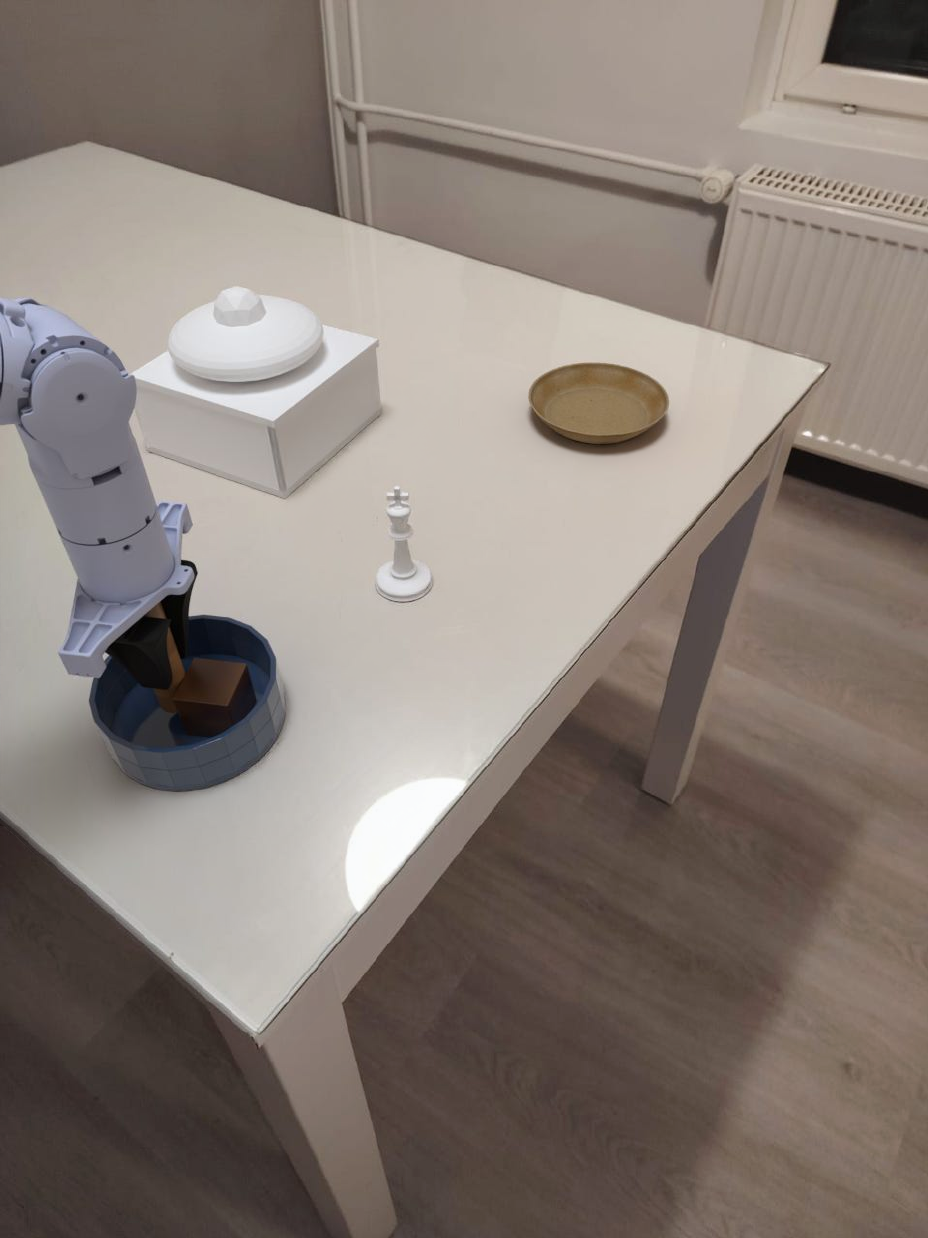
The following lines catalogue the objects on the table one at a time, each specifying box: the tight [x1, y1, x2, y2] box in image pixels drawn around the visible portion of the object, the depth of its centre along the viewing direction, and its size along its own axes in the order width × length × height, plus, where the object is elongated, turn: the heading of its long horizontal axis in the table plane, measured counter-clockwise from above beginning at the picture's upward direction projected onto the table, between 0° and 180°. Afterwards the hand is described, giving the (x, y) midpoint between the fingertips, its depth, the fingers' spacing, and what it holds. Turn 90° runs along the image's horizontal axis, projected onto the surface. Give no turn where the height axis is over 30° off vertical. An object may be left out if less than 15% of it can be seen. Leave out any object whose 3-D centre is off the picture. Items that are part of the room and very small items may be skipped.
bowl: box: [88, 614, 286, 792], centre depth 63 cm, size 13×13×4 cm
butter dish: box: [128, 285, 382, 500], centre depth 86 cm, size 18×18×16 cm
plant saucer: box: [527, 362, 670, 445], centre depth 92 cm, size 15×15×3 cm
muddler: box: [146, 601, 186, 713], centre depth 59 cm, size 2×2×11 cm
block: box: [173, 658, 256, 738], centre depth 62 cm, size 4×4×4 cm
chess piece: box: [374, 485, 434, 603], centre depth 71 cm, size 5×5×10 cm
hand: (164, 669), depth 61 cm, fingers closed on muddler, 2 cm apart
